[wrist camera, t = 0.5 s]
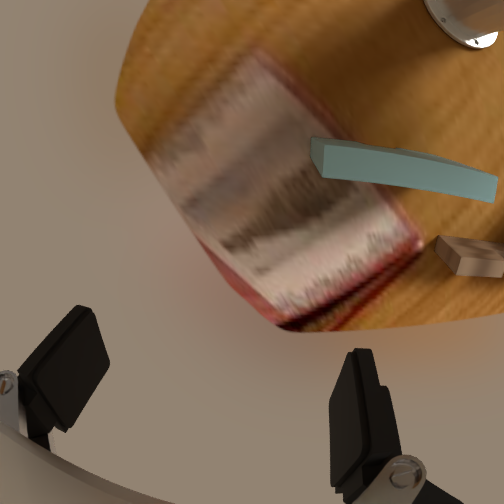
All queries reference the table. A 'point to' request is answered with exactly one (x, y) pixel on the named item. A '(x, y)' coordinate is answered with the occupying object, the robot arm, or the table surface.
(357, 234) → the table surface
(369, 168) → the teal plate
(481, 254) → the wooden bar
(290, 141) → the table surface
